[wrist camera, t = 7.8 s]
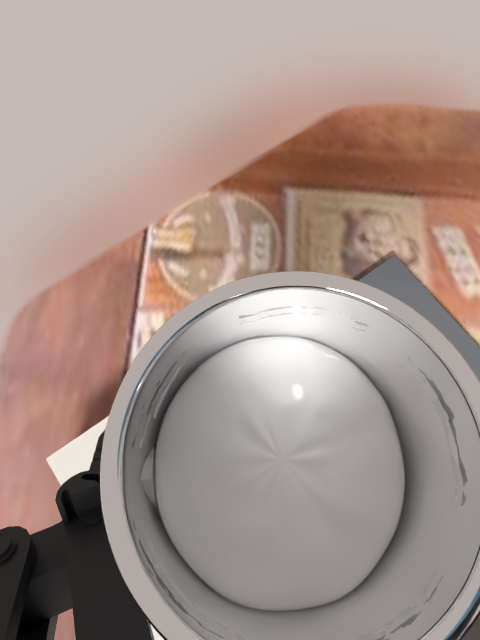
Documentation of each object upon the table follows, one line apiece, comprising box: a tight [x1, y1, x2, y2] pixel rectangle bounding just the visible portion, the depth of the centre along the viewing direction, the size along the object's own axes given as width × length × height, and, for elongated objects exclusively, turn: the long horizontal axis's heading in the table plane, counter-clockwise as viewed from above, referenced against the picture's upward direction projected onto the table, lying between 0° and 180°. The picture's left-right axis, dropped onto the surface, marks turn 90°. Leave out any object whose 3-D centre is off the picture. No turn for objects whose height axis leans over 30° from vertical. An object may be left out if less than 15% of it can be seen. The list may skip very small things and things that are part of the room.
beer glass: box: [100, 271, 480, 640], centre depth 14 cm, size 7×7×15 cm
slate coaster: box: [358, 255, 480, 381], centre depth 32 cm, size 10×12×1 cm
